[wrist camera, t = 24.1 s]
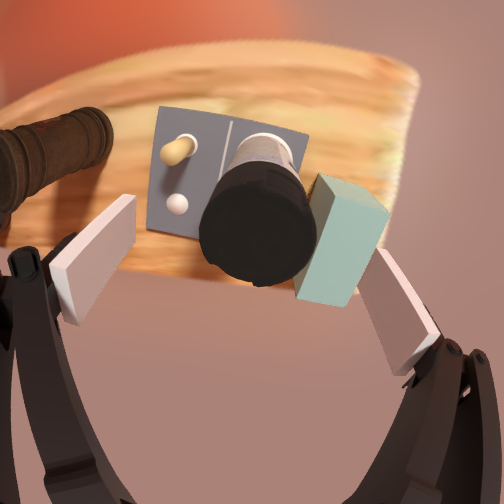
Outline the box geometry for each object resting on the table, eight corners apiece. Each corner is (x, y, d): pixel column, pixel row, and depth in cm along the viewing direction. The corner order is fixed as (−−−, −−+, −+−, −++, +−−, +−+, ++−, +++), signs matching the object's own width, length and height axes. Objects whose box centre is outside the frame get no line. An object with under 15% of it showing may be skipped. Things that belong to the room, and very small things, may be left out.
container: (125, 140, 32) (33, 181, 16) (86, 177, 34) (2, 234, 19) (93, 93, 28) (-6, 108, 12) (57, 134, 31) (-33, 171, 15)
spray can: (270, 197, 34) (277, 306, 17) (223, 170, 33) (178, 257, 15) (300, 153, 31) (346, 224, 14) (251, 123, 30) (234, 155, 12)
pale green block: (290, 258, 40) (296, 298, 32) (318, 172, 33) (335, 195, 26) (331, 267, 41) (344, 307, 33) (363, 186, 34) (390, 213, 26)
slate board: (148, 224, 38) (129, 249, 32) (161, 106, 29) (139, 108, 23) (273, 251, 40) (275, 280, 34) (308, 134, 31) (319, 142, 25)
